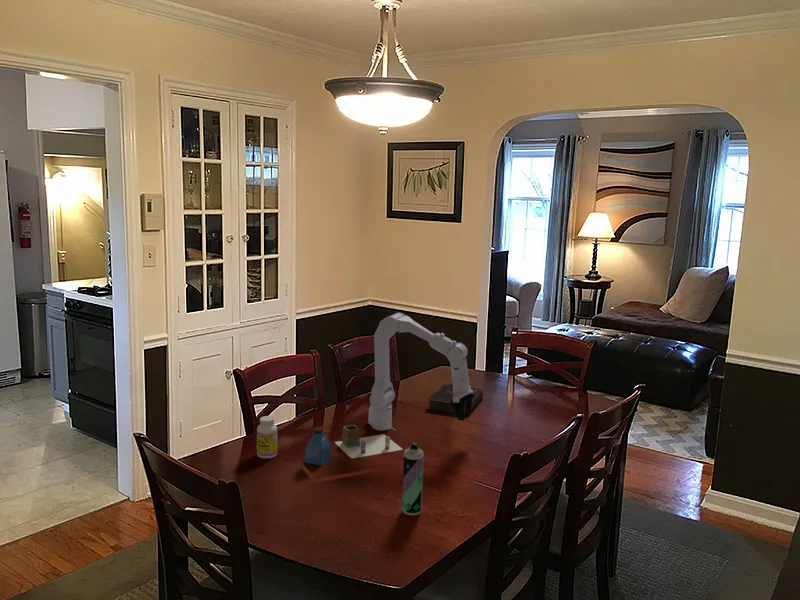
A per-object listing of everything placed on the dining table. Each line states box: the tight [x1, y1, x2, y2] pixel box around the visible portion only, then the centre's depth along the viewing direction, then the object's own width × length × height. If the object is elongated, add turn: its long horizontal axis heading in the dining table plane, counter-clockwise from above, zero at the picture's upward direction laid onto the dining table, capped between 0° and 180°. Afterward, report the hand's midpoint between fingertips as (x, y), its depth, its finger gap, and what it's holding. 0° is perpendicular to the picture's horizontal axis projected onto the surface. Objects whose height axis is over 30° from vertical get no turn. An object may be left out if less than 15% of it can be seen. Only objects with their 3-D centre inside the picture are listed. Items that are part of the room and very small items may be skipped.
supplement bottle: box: [256, 415, 278, 459], centre depth 223 cm, size 7×7×13 cm
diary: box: [425, 383, 484, 417], centre depth 281 cm, size 19×25×5 cm
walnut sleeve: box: [341, 424, 361, 448], centre depth 232 cm, size 5×5×6 cm
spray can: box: [401, 442, 425, 516], centre depth 188 cm, size 6×6×20 cm
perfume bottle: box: [304, 426, 332, 466], centre depth 218 cm, size 6×6×12 cm
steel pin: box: [361, 440, 366, 453], centre depth 226 cm, size 2×2×4 cm
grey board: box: [334, 433, 404, 459], centre depth 232 cm, size 15×19×1 cm
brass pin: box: [385, 435, 391, 449], centre depth 230 cm, size 2×2×4 cm
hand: (464, 416), depth 236 cm, fingers open, 7 cm apart
